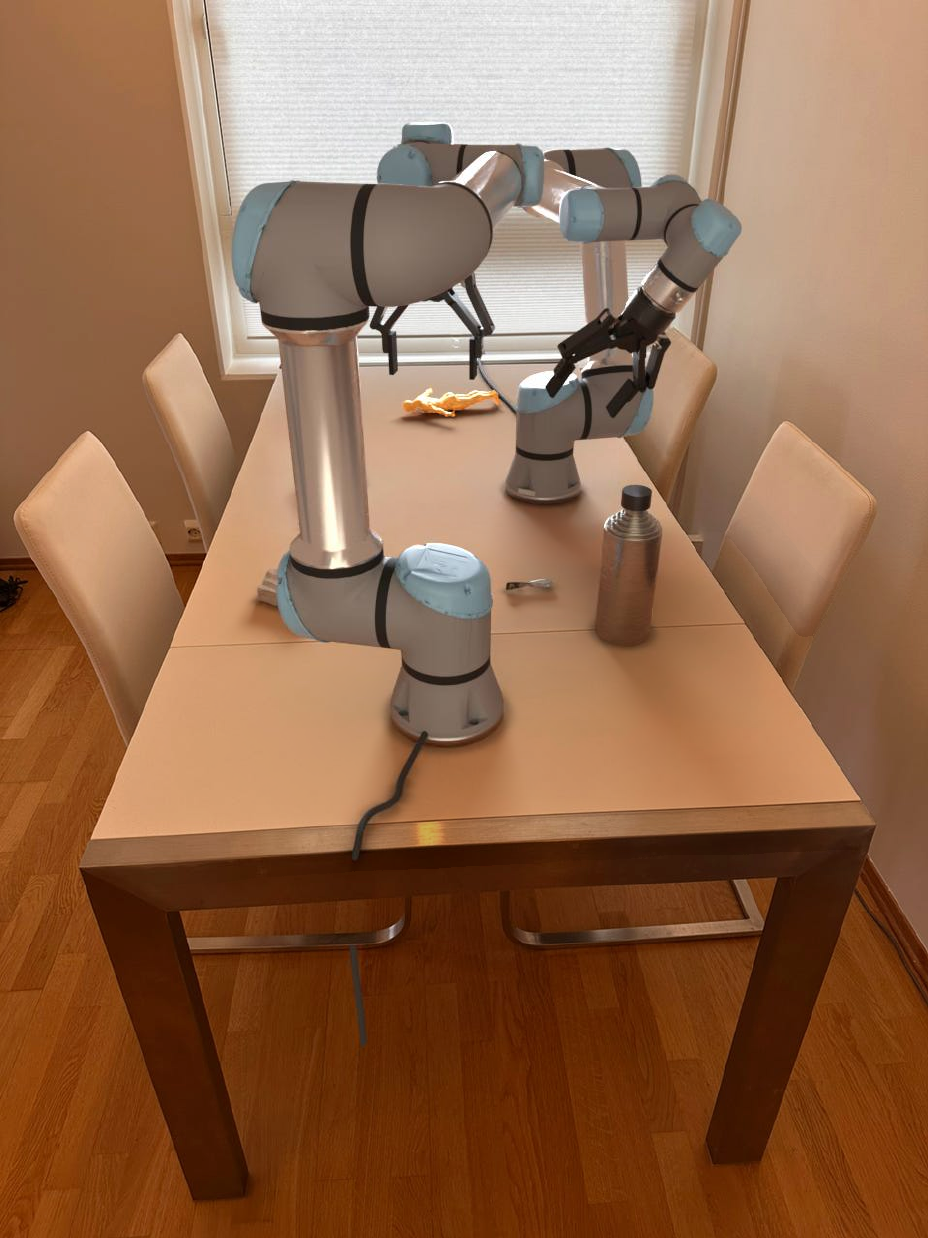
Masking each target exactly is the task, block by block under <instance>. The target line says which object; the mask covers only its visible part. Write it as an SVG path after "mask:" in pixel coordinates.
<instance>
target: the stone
mask: <svg viewBox="0 0 928 1238" xmlns="http://www.w3.org/2000/svg"><path fill="white" fill-rule="evenodd" d="M277 571H278V569H277V568H276V569H272V568H270V569H268V570H267V571H265V575H264V577H263V580H262V582H261V585H260V586H259V587H257V588H256V593H257V594H256V600H257V601H261V602H262V603H267V604H269V605H272V606H274V607H278V604H277V598H276V585H277V584H278V579H277Z"/></svg>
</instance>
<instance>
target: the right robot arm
mask: <svg viewBox="0 0 928 1238" xmlns="http://www.w3.org/2000/svg"><path fill="white" fill-rule="evenodd" d="M542 152H543V155H544V185H543V193H542V198H541V201H540V203H539V204H538V205H536V206H531V207H522V208H521V209H522V210H523V211H525V212H526V213H527V214H528V215H530V216H533V217H535V218H538V219H545V218H549V219H551V220H553V221H555V222H556V223H558V224H559V225H558V226H559V230H560V233H561V236H562V238H563V240H564V241H566V242H568V243H579V244H580V257H581V258H580V260H581V274H582V289H583V304H584V317H585V319H584V320H585V325H584V326H583V327H581V328H579V330H577V331H575V332H574V333H573V334H571V335H570V336H568V337H567V338H565V339H564V340H562V341H561V342H559V343H558V344H557V345H556V348H557V350H558V352H559V354H560V356H561V358H560V360H559V361H558V362H557V364H556V365H555V367H554V368H553V370H549V371H542V372H539V373H538V372H537V373H536V374H532V375H530V376H528V377H527V378H525V379H524V380H523V381H522V382H520V384H519V385H518V389H517V395H516V403H515V405H514V404H513V403H512V402H511V401H510V400H509V399H508V397H506V396H505V395H504V394H503V393H502V392H501V391H500V389H498V388H497V386H495V385H494V384H493V382H492V381H491V380H490V378H489V377H488V376H487V374H486V373H485V370H484V367H483V364H482V357H481V358H477V366H478V368H479V370H480V373H481V375H482V377H483V378H484V379H485V381H486V382H487V384H488V385H489V386H490V387H491V389H492V390H495V392H497V393H498V397H500V398H501V399H502V400H503V401H504V402H505V403H506V404H507V405H508V406H509V407H510V408H511V409H512V410H513V411H514V413H515V414H516V417H515V453H514V456H513V458H512V461H511V464H510V467H509V470H508V473H507V475H506V479H505V492H506V493H507V494H508V496H510V497H511V498H513V499H516V500H517V501H519V502H523V503H527V504H533V505H557V504H558V505H559V504H563V503H566V502H569V501H571V500H574V499H576V498H577V497H578V496H579V494H580V492H581V478H580V475H579V471H578V468H577V464H576V460H575V457H574V450H575V447H574V446H575V442H576V441H585V440H586V441H587V440H597V439H599V440H601V439H614V438H615V439H616V438H617V439H621V438H624V437H632V436H637V435H639V434H641V433H642V432H643V431H644V430H645V429H646V427H647V426H648V424H649V422H650V419H651V416H652V411H653V406H654V388H655V387H656V385H657V384H656V383H657V380H658V377H659V374H660V371H661V367H662V364H663V361H664V358H665V354H666V352H667V350H668V349H669V348H670V347H671V344H672V341H671V339H670V338H669V337H668V335H667V333H666V330H667V329H668V328H669V327H670V326H671V324H672V323H673V321H674V320H675V319H676V318H677V317H676V316H677V314H679V313H680V312H681V311H682V310H683V309H684V308H685V306H686V305H687V303H689V301H690V300H691V298H693V296H694V294H695V293H697V291H698V290H699V288H700V287H701V286H702V285H703V284H704V282H705V281H706V280H707V278H709V276H710V275H711V274H712V273H713V271H714V270H715V269H716V268H717V266H718V265H719V264H720V262H721V261H722V260H723V259H724V258H725V257H726V256H727V255H728V254H729V251H730V249H731V248H732V246H733V245H734V244H735V242H736V241H737V239H738V238H739V237H740V236H741V233H742V230H743V229H742V228H743V226H742V223H741V221H740V220H739V219H738V217H737V216H736V215H735V214H733V213H732V211H731V210H730V209H728V208H727V207H726V206H725V205H723V204H722V203H720V202H719V201H717V200H715V199H713V198H705V199H703V200H702V199H701V198H700V196H699V193H698V191H697V190H696V189H695V187H694V186H693V185H691V184H690V183H689V182H688V181H687V179H685V178H684V177H683V176H680V175H679V174H672V173H671V174H670V173H669V174H665V175H663V176H662V177H660V178H658V179H656V180H654V181H653V182H652V183H651V184H650V185H649V186H643V185H642V174H641V169H640V166H639V163H638V161H637V159H636V157H635V156H634V155H633V154H632V152H631V151H629V150H628V149H625V148H615V147H614V148H613V147H610V146H604V148H602V147H601V148H597V147H596V148H565V149H563V148H555V149H548V150H545V151H542ZM655 240H663V242H664V243H665V245H666V246H667V247H666V250H664V252H663V253H662V255H661V256H660V257H659V259H658V260H657V261H656V262H655V264H654V265H653V267H652V268H651V269H650V271H648V273H647V274H646V276H645V277H644V278H643V280H642V281H641V286H639V287H637V288H636V290H635V291H634V292H633V293H632V295H631V296H630V298H629V284H628V283H629V282H628V267H627V250H626V249H627V248H626V241H627V242H628V241H629V242H630V241H655ZM651 345H652V346H651ZM648 346H649V347H650V346H651V348H650V353H649V356H648V360H647V362H646V359H647V348H648ZM483 355H486V351H485V350H484V349H483ZM586 359H587V363H586V365H585V366H584V367H583V368H582V369H581V371H580V374H581V375H580V376H581V379H579V378H578V375H576V374H575V373H573V372H574V371H575V370H576V365H575V364H576V363H579V362H581V361H583V360H586ZM646 363H647V364H646Z"/></svg>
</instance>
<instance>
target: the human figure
mask: <svg viewBox="0 0 928 1238" xmlns="http://www.w3.org/2000/svg"><path fill="white" fill-rule="evenodd" d="M424 391H425V392H423V393H422V394H420V395H418V396H416V398H415V399H414V400H404V401H403V402H402V411H404V412H405V413H410V414H412V413H414V412H417V408H418V409H420V410H421V411H423V412H424V413H427V414H439V415H443V416H444V417H449V416H450V417H451V418H452V417H453V418H454V417H455V416H456V414H455V411H462V410H464V409H467V408H469V407H471V406H473V405H476V404H478V403H481V402H484V401H488V400H493V402H494V403H495V404H496V405H497V406H500V398H499V395H498V393H497V392H496V391H495V390H494V389H492V390H491V391H478V390H473V391H470V392H469V393H468V394H460V393H457V394H455V393H453V392H446V393H444V394H443V395H442V396H441V397H440V398H434V397H429V396H430V395H432V394H433V392H434V391H433V389H432V385H429V387H428V389H424ZM450 410H452V411H450Z"/></svg>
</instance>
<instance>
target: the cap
mask: <svg viewBox="0 0 928 1238" xmlns="http://www.w3.org/2000/svg"><path fill="white" fill-rule="evenodd" d="M652 497H653V490H652V489H651V488H650V487H648V486H645V485H641V484H629V485H625V486H624V487H622V489H621V498H620V499H621V500H620V506H621V508H623V509H627V510H630V511H645V510H646V511H648V510H649V509H650V508H651V505H652Z"/></svg>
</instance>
